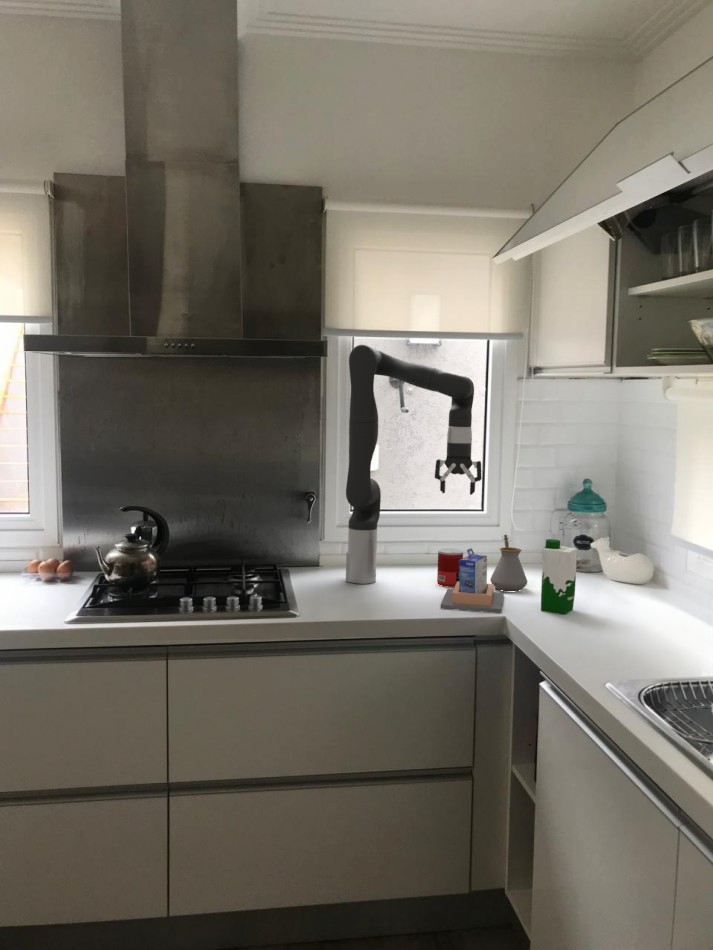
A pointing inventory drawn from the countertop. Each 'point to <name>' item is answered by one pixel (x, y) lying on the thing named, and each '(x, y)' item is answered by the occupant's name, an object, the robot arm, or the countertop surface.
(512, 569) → the coffee pot
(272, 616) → the countertop surface
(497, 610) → the dock
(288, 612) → the countertop surface
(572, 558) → the milk carton
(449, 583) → the canned food
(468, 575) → the ink cartridge box
